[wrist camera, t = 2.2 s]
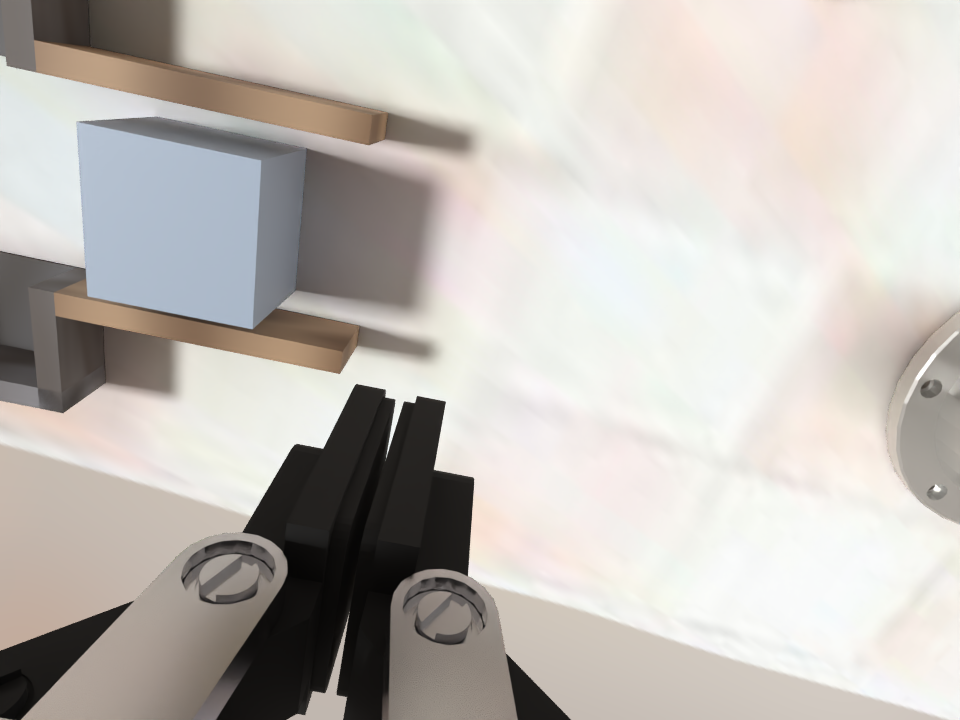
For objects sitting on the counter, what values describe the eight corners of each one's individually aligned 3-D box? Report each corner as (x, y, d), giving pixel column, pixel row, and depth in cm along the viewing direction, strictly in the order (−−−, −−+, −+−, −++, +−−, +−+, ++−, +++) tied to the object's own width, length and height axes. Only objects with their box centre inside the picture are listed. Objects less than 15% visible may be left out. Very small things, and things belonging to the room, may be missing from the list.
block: (307, 148, 25) (261, 160, 20) (296, 289, 27) (252, 329, 22) (158, 116, 24) (76, 121, 20) (159, 261, 27) (87, 296, 22)
